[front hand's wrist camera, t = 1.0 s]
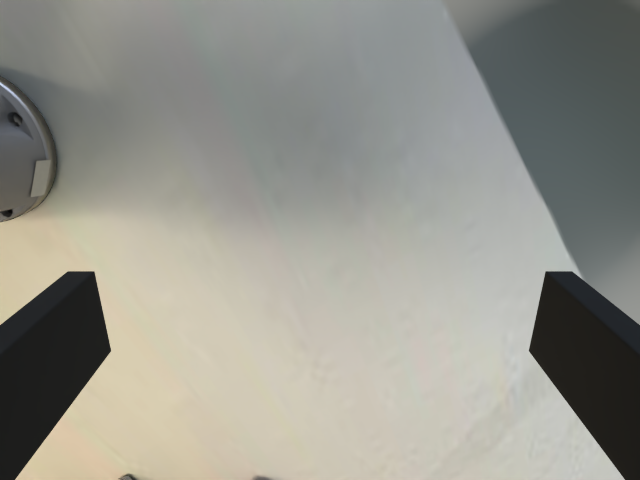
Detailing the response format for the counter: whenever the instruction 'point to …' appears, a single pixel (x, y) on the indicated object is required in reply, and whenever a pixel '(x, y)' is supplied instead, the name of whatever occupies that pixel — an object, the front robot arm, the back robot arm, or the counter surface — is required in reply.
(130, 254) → the counter surface
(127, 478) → the transformer
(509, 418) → the counter surface
